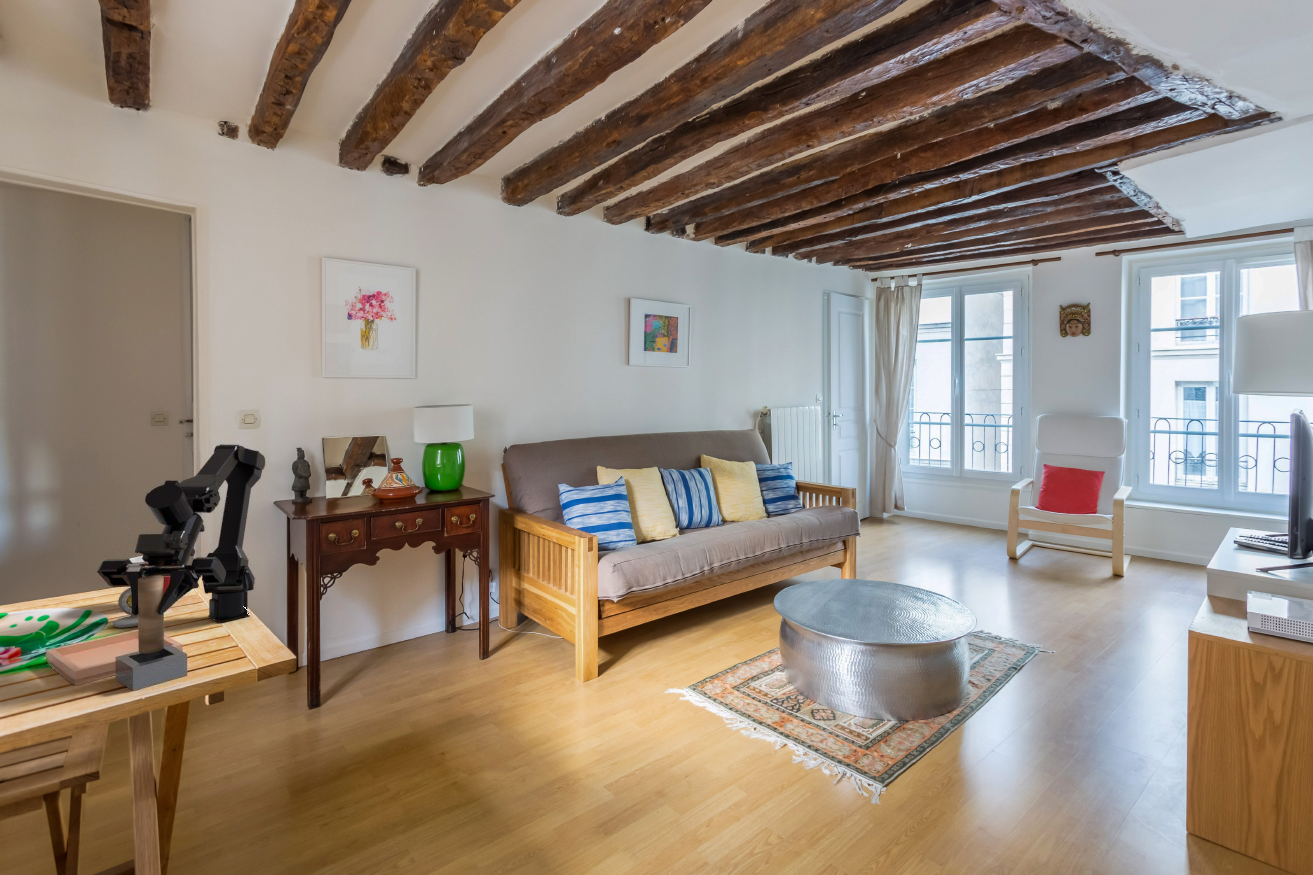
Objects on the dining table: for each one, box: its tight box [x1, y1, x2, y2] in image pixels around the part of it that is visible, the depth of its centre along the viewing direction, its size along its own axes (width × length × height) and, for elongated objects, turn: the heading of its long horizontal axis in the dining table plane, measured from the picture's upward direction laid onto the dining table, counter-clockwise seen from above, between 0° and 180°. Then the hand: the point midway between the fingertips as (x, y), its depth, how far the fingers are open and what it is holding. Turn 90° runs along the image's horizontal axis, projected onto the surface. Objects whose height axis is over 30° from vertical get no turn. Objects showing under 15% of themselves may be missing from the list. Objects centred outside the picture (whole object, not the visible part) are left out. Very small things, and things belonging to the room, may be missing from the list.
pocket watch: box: [112, 587, 138, 628], centre depth 142 cm, size 8×8×10 cm
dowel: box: [137, 575, 165, 653], centre depth 115 cm, size 4×4×13 cm
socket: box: [115, 644, 188, 692], centre depth 115 cm, size 8×8×4 cm
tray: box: [45, 629, 184, 687], centre depth 122 cm, size 16×16×2 cm
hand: (146, 614), depth 113 cm, fingers closed on dowel, 4 cm apart
